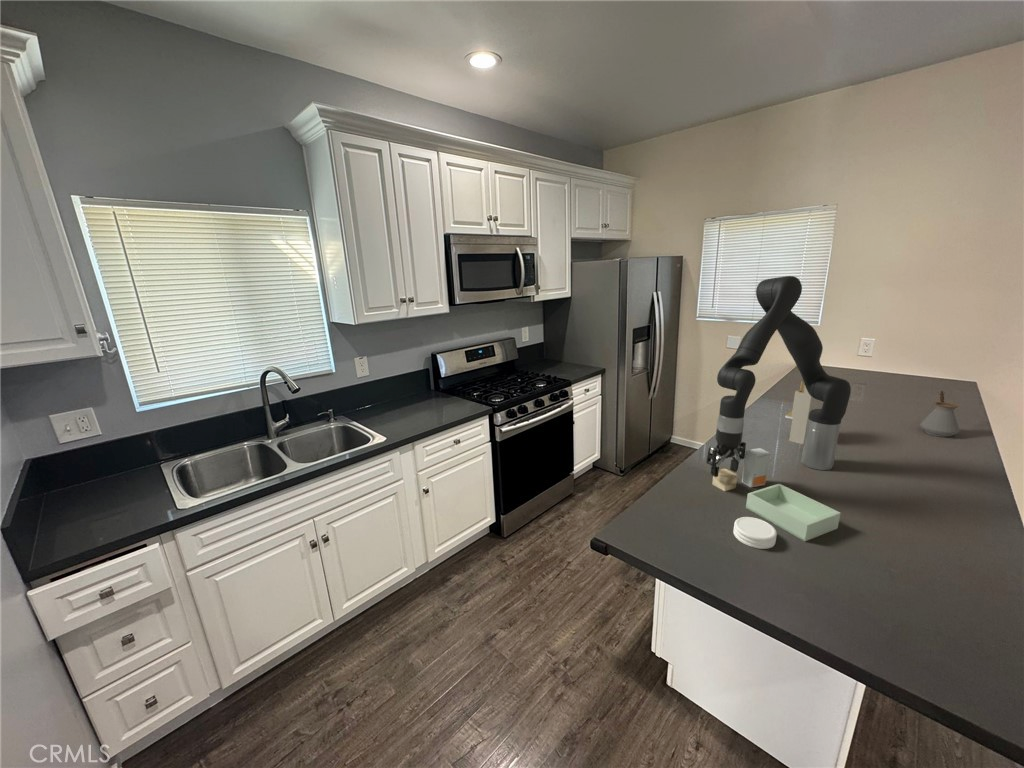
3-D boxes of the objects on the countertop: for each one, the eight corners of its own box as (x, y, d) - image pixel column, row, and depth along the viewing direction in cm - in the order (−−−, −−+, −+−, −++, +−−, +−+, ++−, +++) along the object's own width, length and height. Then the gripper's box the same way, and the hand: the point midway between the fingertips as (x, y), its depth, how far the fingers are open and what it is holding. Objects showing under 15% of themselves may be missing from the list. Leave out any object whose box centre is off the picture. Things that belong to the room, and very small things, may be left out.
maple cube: (723, 481, 139) (724, 468, 138) (735, 488, 135) (737, 474, 134) (712, 484, 138) (713, 471, 136) (724, 491, 133) (726, 477, 132)
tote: (776, 497, 128) (779, 483, 127) (837, 528, 112) (840, 512, 111) (745, 507, 124) (747, 493, 122) (804, 541, 108) (807, 525, 106)
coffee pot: (960, 441, 162) (969, 405, 158) (920, 434, 169) (928, 400, 165) (952, 425, 178) (961, 392, 174) (915, 420, 185) (923, 388, 181)
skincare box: (751, 488, 134) (755, 455, 131) (741, 482, 138) (745, 450, 135) (765, 485, 136) (770, 452, 133) (755, 479, 140) (759, 447, 137)
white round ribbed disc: (737, 522, 117) (738, 511, 116) (777, 535, 111) (779, 524, 110) (729, 540, 110) (730, 529, 109) (772, 555, 104) (774, 543, 103)
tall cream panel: (811, 437, 172) (821, 379, 165) (803, 445, 165) (813, 385, 158) (790, 432, 178) (798, 376, 171) (781, 439, 171) (790, 381, 164)
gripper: (736, 421, 137) (730, 464, 141) (703, 427, 132) (698, 472, 136) (756, 428, 130) (749, 474, 134) (722, 435, 125) (717, 482, 129)
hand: (724, 473), depth 135 cm, fingers open, 8 cm apart
